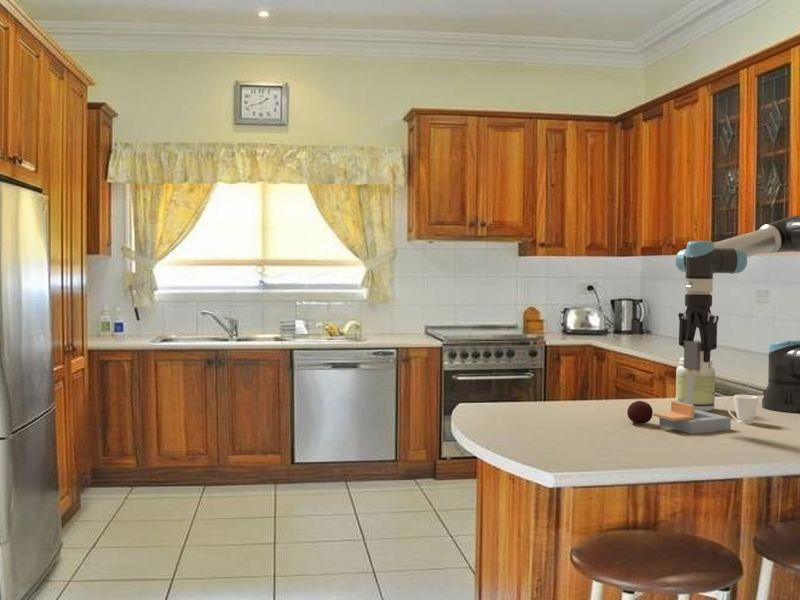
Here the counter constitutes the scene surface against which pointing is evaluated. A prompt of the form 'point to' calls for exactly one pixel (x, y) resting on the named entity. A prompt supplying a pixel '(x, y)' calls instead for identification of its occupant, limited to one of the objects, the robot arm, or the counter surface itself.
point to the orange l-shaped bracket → (677, 412)
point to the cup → (744, 408)
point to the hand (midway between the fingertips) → (696, 371)
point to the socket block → (699, 423)
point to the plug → (692, 356)
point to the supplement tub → (695, 387)
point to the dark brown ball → (640, 412)
